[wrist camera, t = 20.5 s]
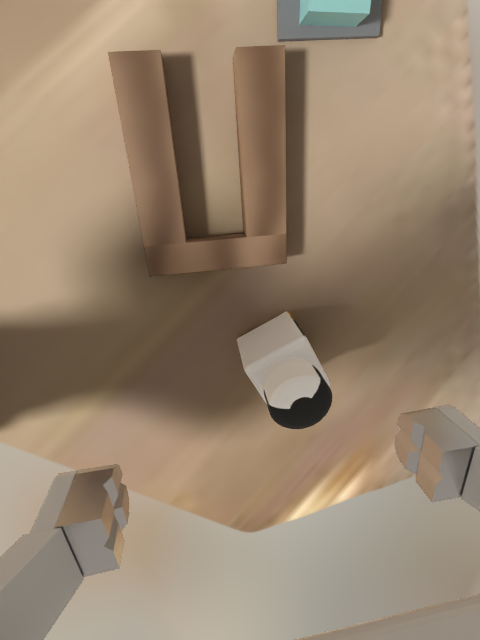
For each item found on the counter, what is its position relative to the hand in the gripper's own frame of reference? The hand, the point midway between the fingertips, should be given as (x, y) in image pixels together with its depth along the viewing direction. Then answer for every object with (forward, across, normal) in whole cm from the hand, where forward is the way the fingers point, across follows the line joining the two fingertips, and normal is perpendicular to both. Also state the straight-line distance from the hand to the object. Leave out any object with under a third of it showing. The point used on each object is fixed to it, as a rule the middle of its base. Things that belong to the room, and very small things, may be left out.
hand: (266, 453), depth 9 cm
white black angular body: (+28, -7, +12) cm, 31 cm away
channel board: (+28, -1, -8) cm, 29 cm away
